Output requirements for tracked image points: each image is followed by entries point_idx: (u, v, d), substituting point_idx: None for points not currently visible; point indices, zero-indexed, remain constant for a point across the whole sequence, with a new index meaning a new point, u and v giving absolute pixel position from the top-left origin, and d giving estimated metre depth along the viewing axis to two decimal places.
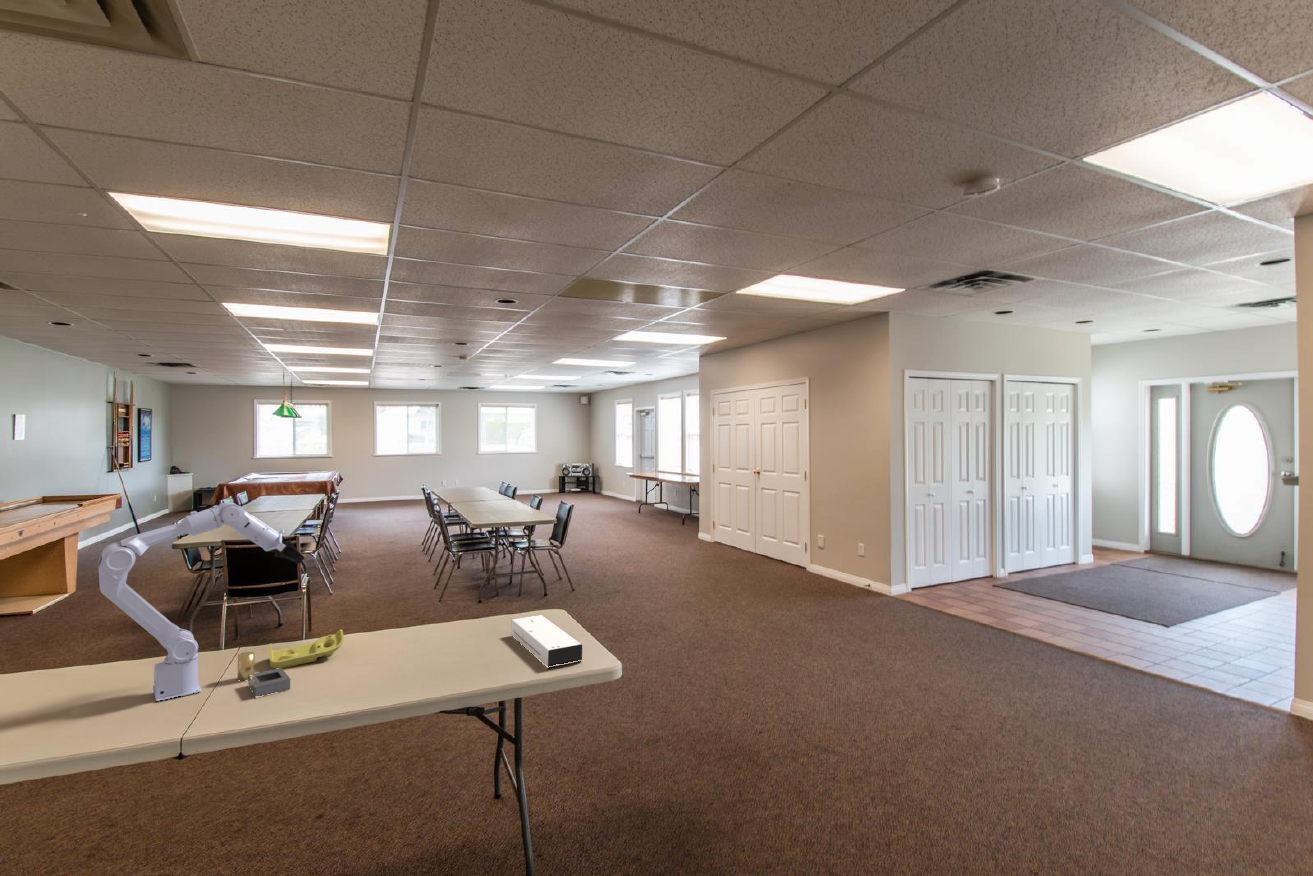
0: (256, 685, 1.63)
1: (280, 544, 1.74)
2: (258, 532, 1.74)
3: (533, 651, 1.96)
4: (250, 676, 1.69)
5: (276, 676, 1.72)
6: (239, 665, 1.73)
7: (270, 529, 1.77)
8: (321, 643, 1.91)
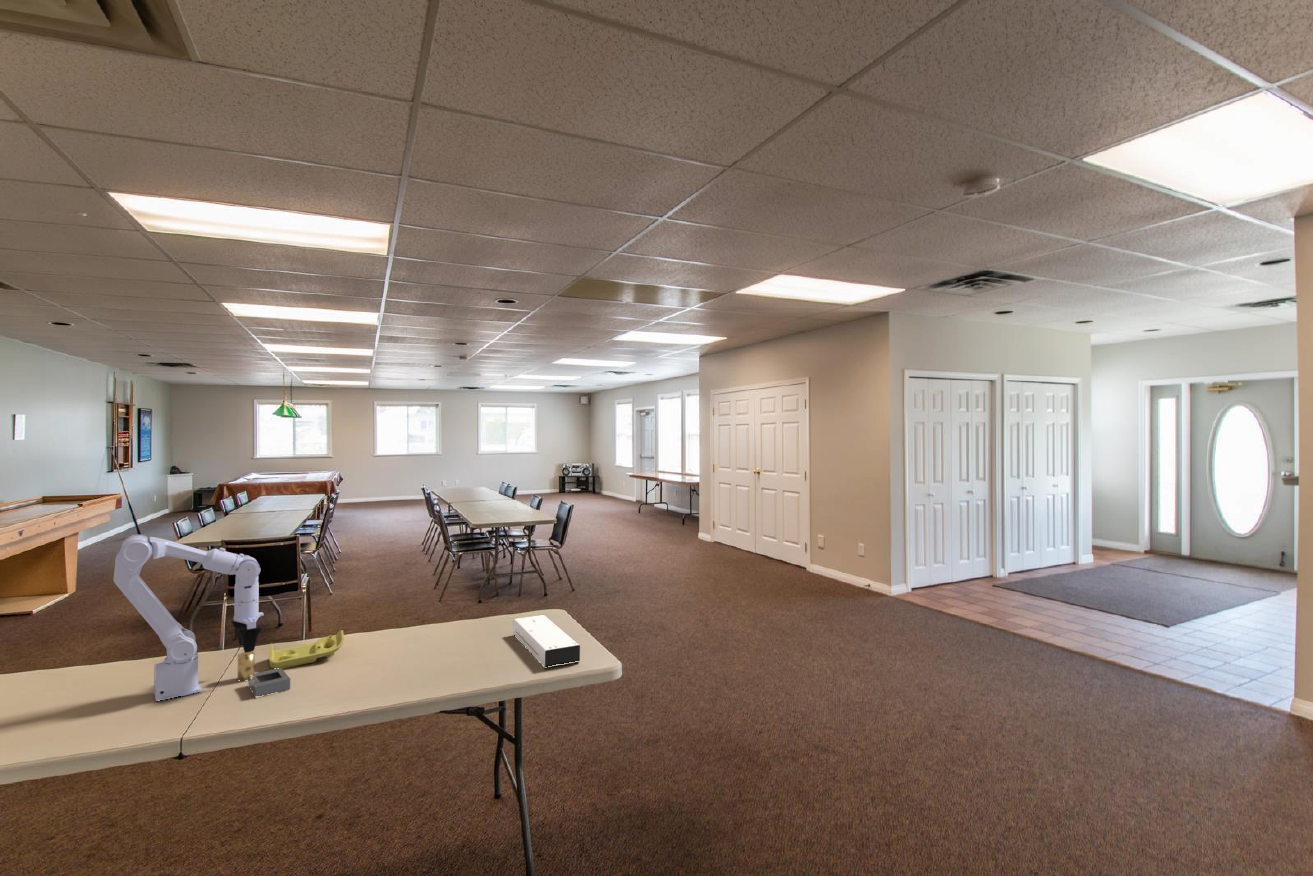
0: (256, 685, 1.63)
1: (253, 623, 1.69)
2: (247, 600, 1.72)
3: (532, 651, 1.96)
4: (250, 676, 1.69)
5: (276, 676, 1.72)
6: (239, 665, 1.73)
7: (257, 605, 1.74)
8: (321, 644, 1.91)
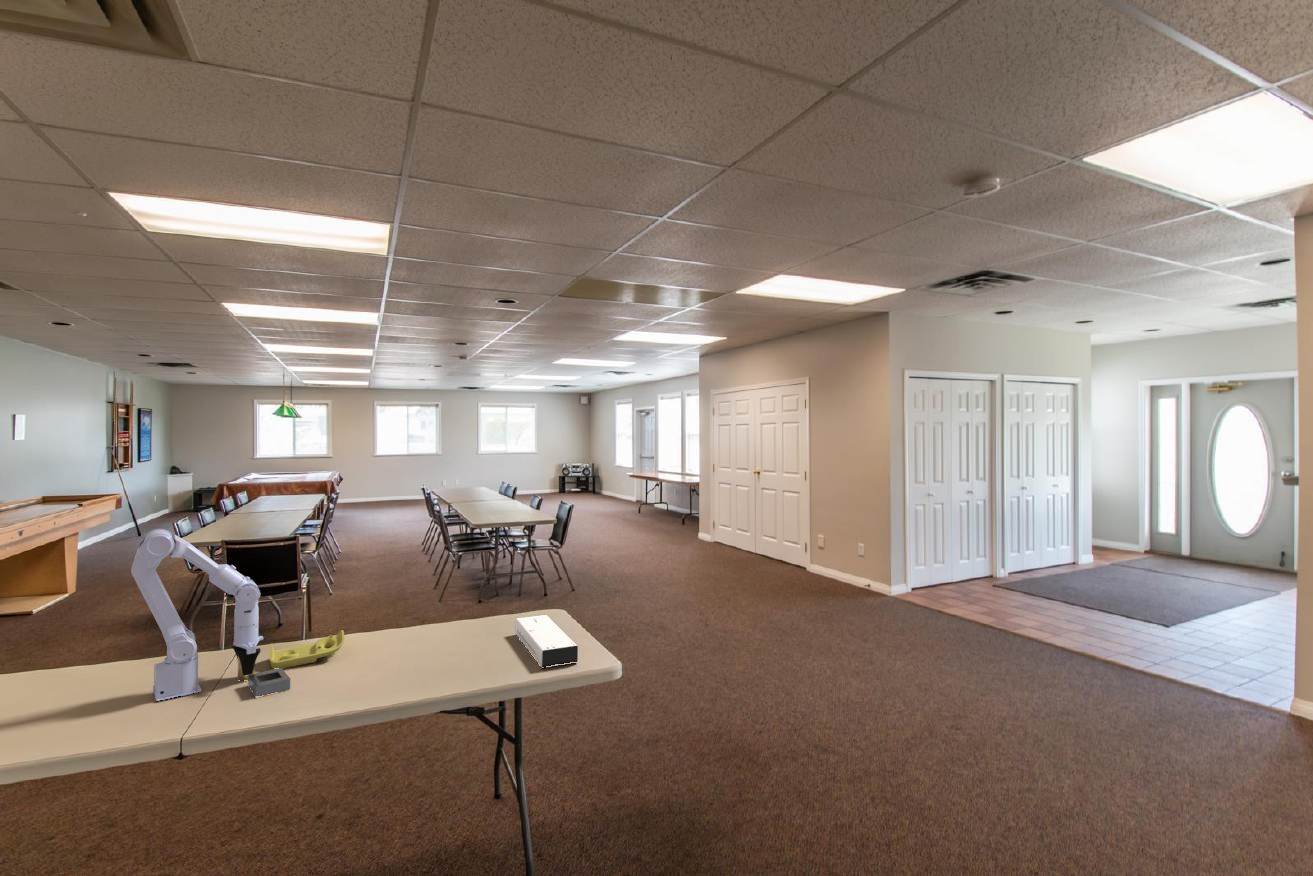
0: (256, 685, 1.63)
1: (253, 648, 1.69)
2: (247, 624, 1.72)
3: (531, 651, 1.96)
4: (250, 676, 1.69)
5: (276, 676, 1.72)
6: (239, 665, 1.73)
7: (256, 629, 1.75)
8: (322, 644, 1.91)
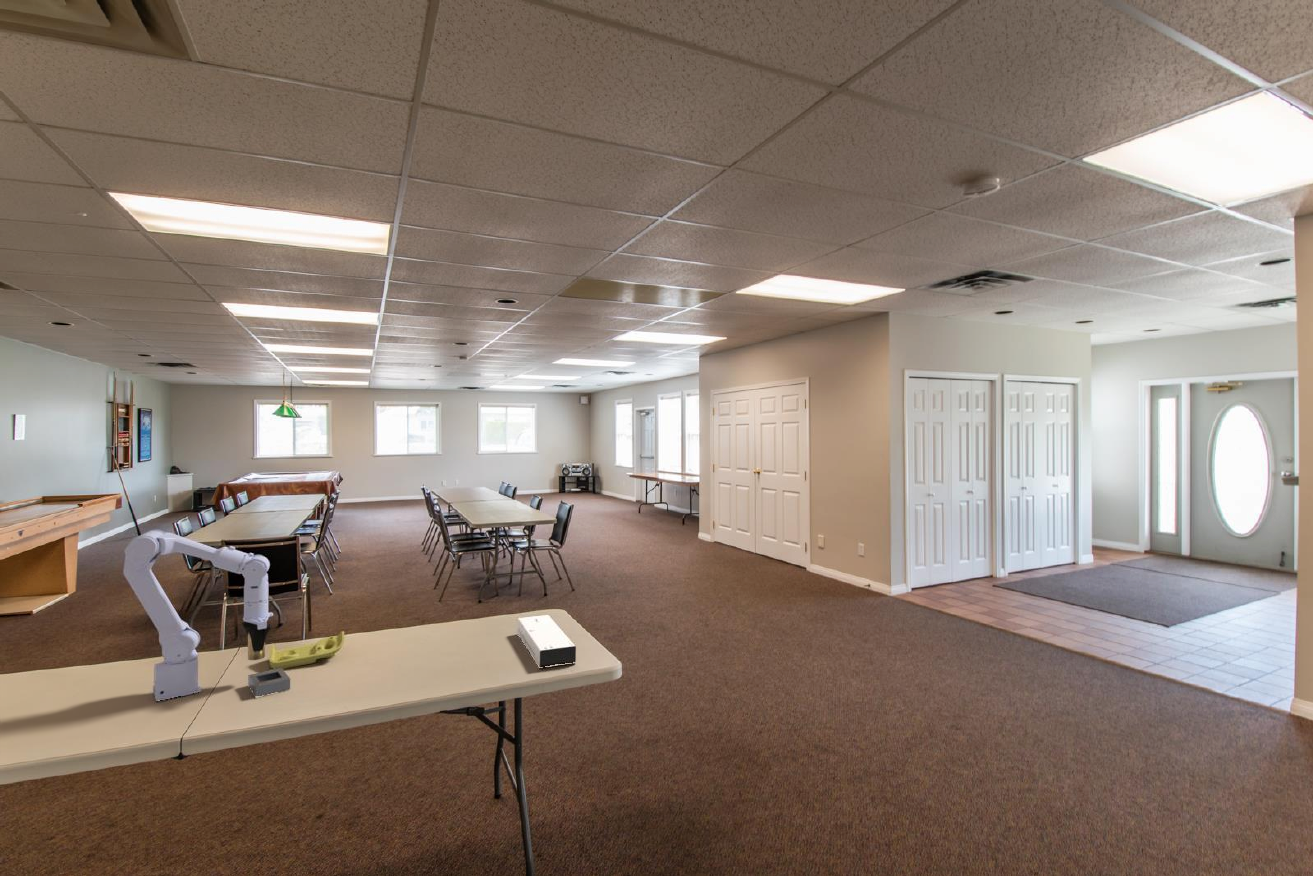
0: (256, 685, 1.63)
1: (264, 623, 1.67)
2: (254, 600, 1.69)
3: (530, 651, 1.96)
4: (250, 676, 1.69)
5: (276, 676, 1.72)
6: (249, 643, 1.70)
7: (266, 605, 1.72)
8: (322, 645, 1.90)
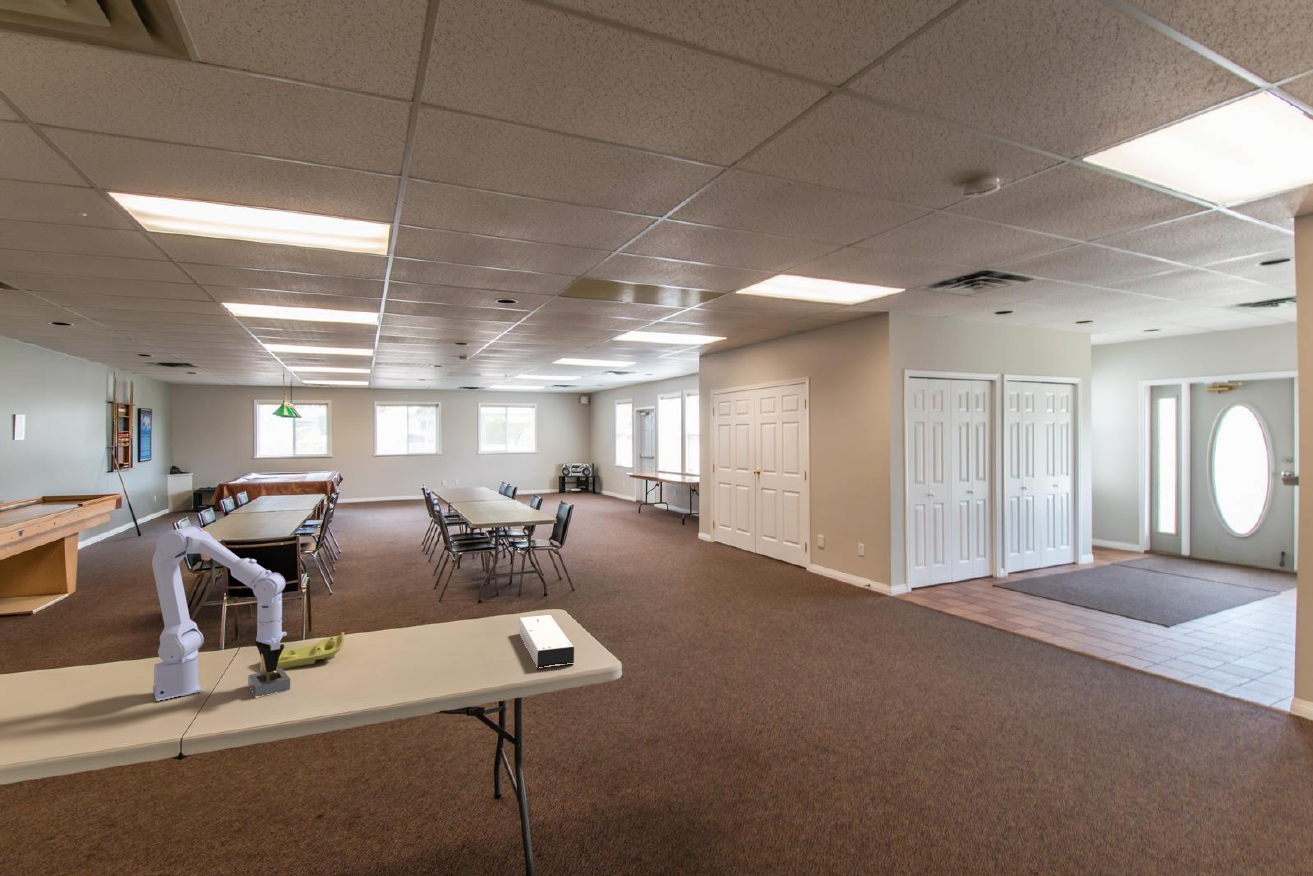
0: (256, 685, 1.63)
1: (277, 644, 1.64)
2: (264, 620, 1.66)
3: (530, 650, 1.96)
4: (250, 676, 1.69)
5: None
6: (262, 664, 1.67)
7: (280, 624, 1.69)
8: (322, 645, 1.90)
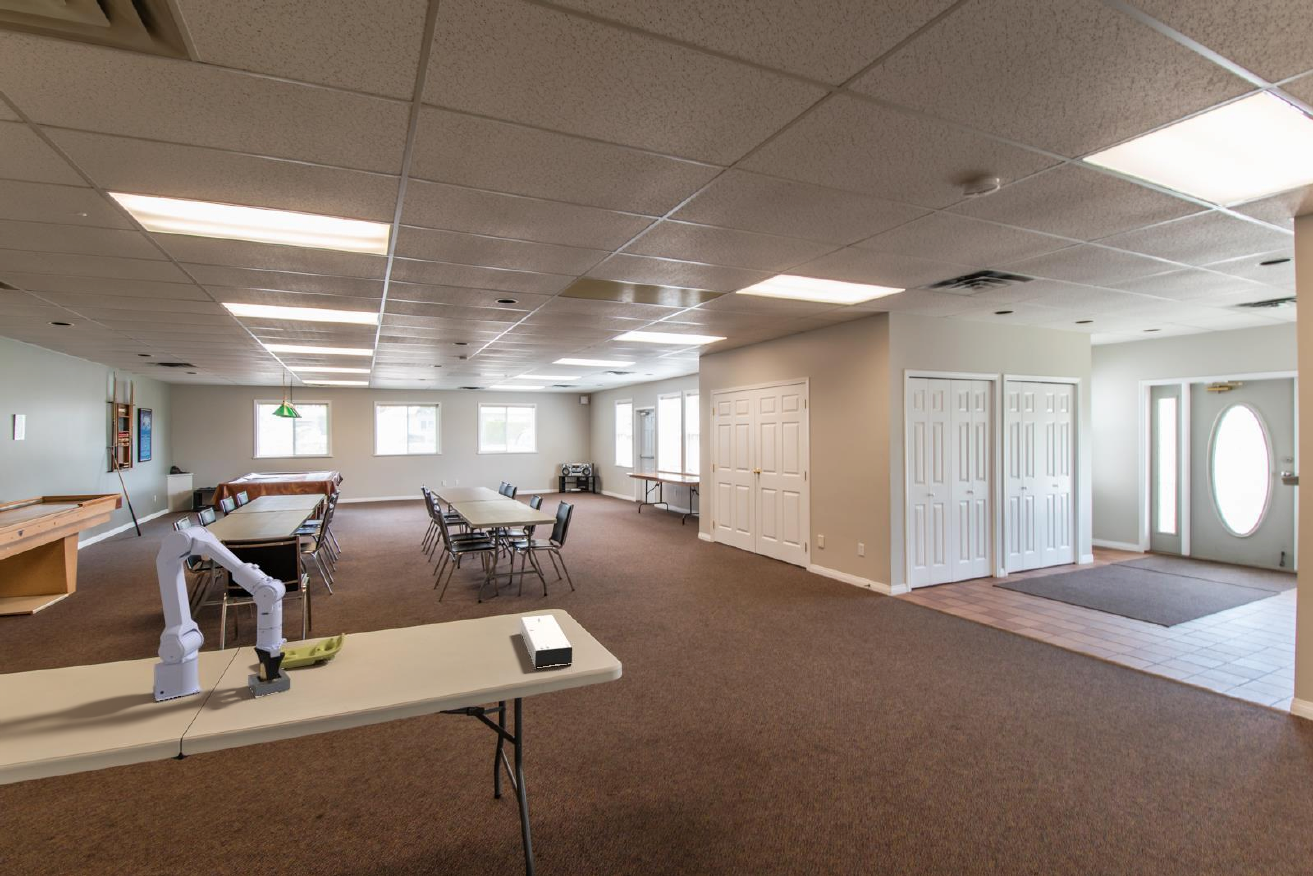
0: (256, 685, 1.63)
1: (277, 650, 1.64)
2: (264, 627, 1.66)
3: (529, 650, 1.97)
4: (250, 676, 1.69)
5: None
6: (261, 674, 1.67)
7: (280, 631, 1.69)
8: (322, 646, 1.89)
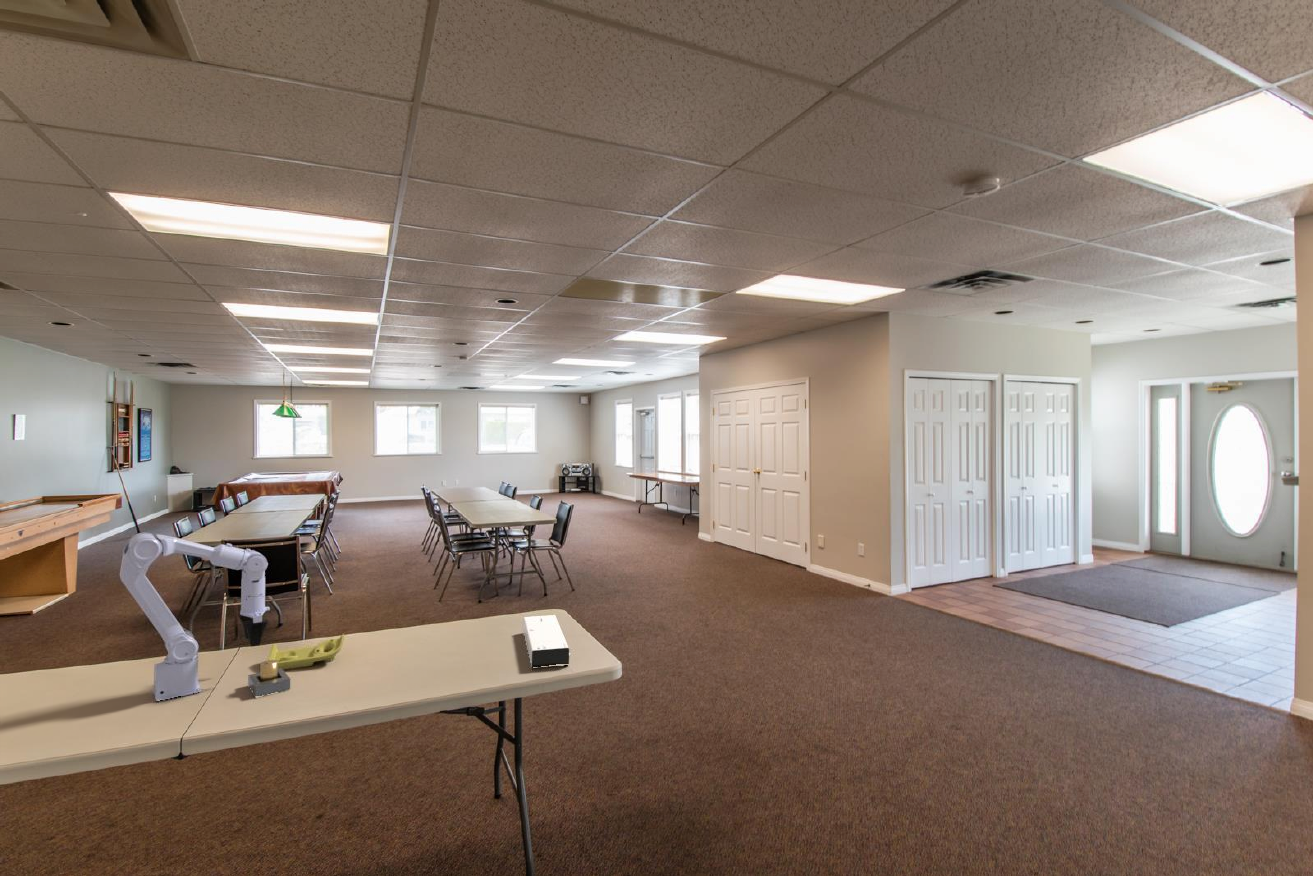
0: (256, 685, 1.63)
1: (259, 617, 1.71)
2: (255, 594, 1.74)
3: (528, 650, 1.97)
4: (250, 676, 1.69)
5: None
6: (261, 674, 1.67)
7: (263, 599, 1.76)
8: (321, 647, 1.88)
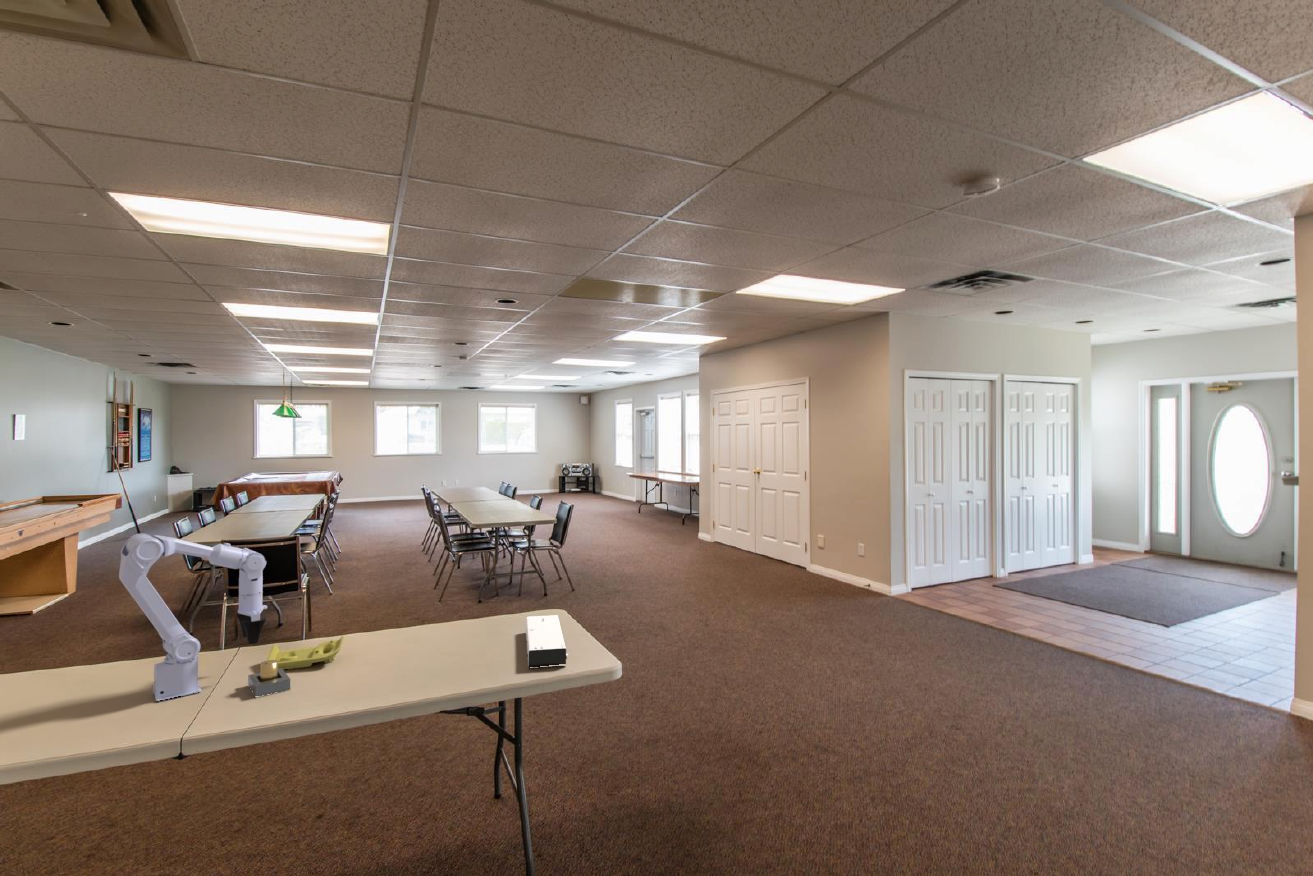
0: (256, 685, 1.63)
1: (257, 615, 1.72)
2: (254, 592, 1.76)
3: (527, 650, 1.97)
4: (250, 676, 1.69)
5: None
6: (261, 674, 1.67)
7: (261, 598, 1.78)
8: (321, 648, 1.87)
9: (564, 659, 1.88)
